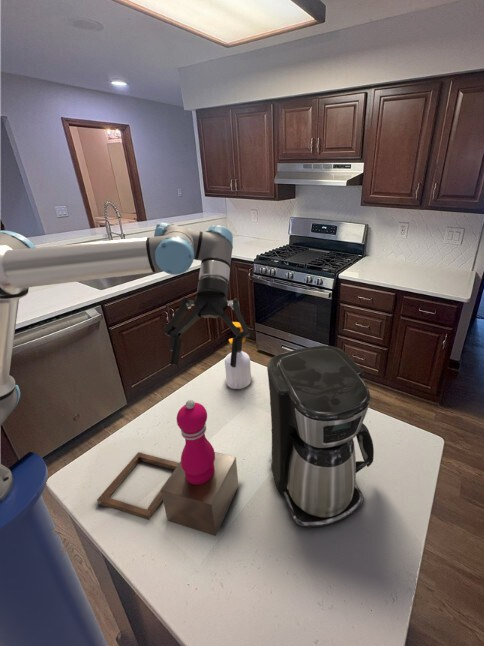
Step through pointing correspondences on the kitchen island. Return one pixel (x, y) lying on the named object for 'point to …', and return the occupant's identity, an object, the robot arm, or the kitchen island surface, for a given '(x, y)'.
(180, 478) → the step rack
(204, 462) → the pepper mill
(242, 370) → the soap bottle
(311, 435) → the coffee maker
